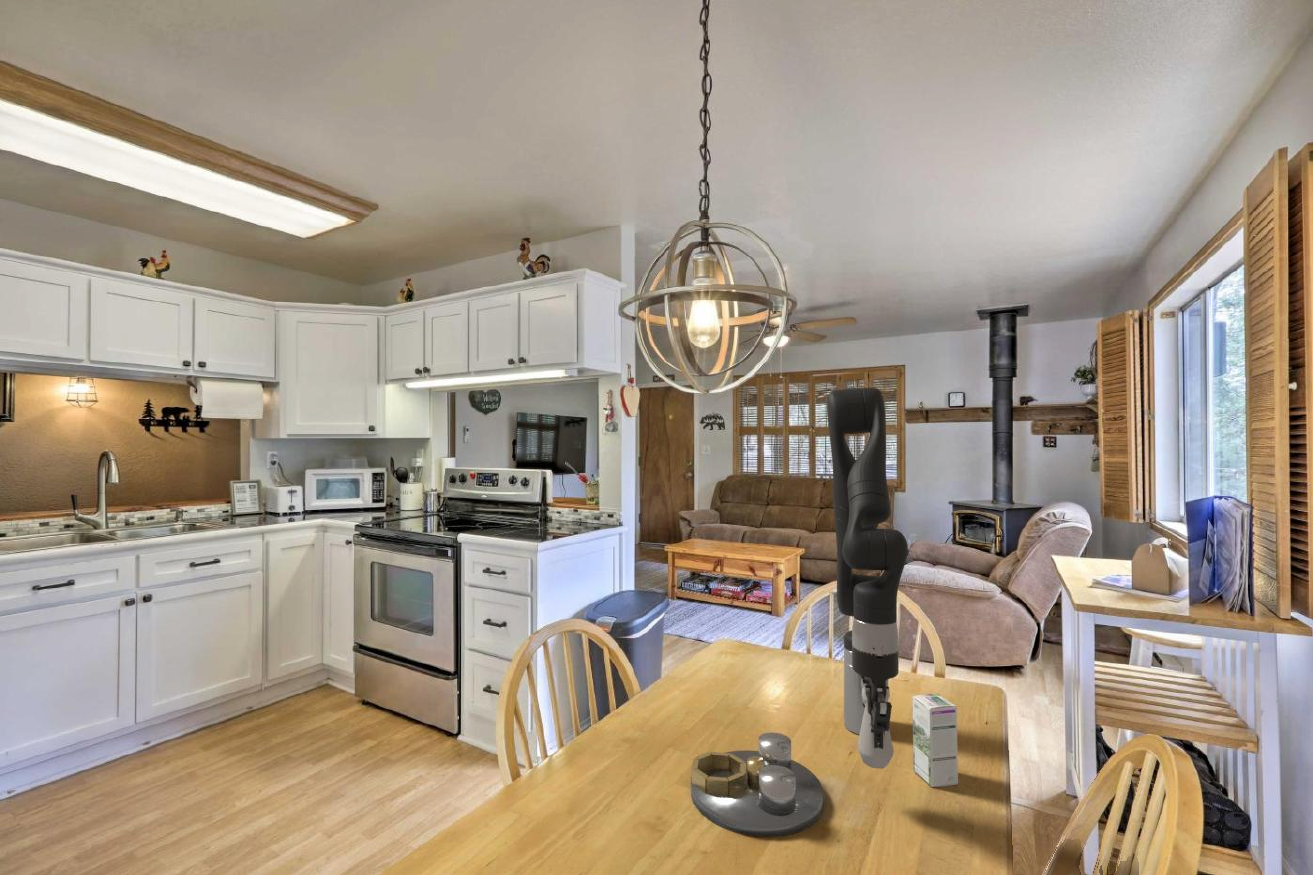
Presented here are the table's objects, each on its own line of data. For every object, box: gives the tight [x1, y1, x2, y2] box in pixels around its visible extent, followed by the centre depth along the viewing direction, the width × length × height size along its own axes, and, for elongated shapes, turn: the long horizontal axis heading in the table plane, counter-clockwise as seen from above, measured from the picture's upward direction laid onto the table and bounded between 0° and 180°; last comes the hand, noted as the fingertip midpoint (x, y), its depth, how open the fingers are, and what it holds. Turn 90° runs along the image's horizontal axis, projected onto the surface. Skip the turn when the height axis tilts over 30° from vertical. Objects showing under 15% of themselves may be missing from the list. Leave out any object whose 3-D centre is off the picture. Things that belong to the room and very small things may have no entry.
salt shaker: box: [857, 687, 895, 770], centre depth 104 cm, size 6×6×13 cm
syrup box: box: [912, 693, 959, 788], centre depth 112 cm, size 6×6×14 cm
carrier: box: [690, 732, 824, 838], centre depth 107 cm, size 23×23×7 cm
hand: (875, 743), depth 104 cm, fingers closed on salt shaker, 3 cm apart
